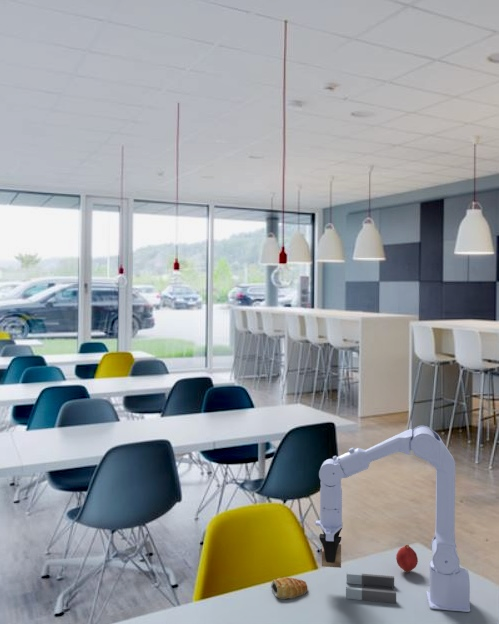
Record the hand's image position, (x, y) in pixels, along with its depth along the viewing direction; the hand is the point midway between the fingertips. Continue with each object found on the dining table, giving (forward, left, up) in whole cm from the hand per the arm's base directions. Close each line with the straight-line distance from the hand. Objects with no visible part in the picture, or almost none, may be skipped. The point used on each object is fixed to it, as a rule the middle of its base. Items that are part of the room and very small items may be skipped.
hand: (331, 557), depth 153 cm
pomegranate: (-20, -13, -9) cm, 26 cm away
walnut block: (0, 0, -2) cm, 2 cm away
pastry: (+11, +4, -9) cm, 15 cm away
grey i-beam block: (-10, 0, -8) cm, 13 cm away
